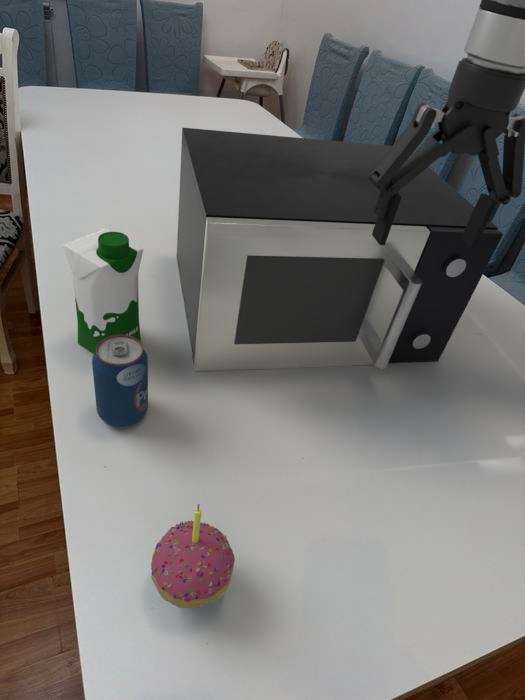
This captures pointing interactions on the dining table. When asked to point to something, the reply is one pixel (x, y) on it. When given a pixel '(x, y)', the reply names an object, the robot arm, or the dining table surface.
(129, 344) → the soda can
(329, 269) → the microwave door
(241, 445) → the dining table surface
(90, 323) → the milk carton
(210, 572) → the cupcake
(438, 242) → the microwave
